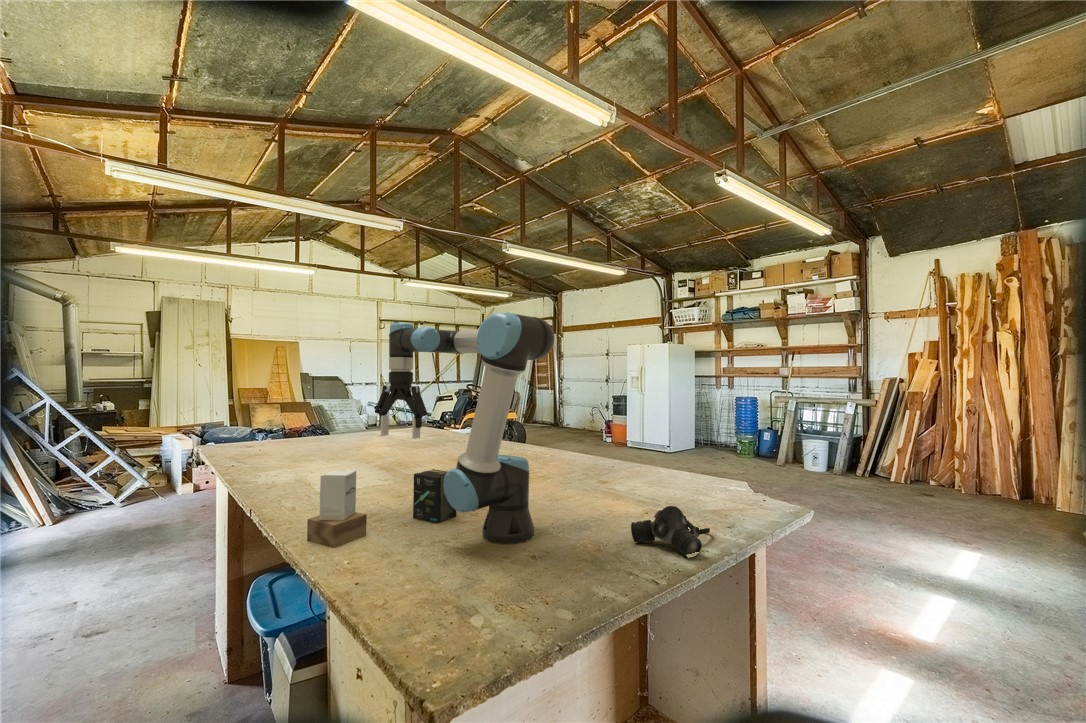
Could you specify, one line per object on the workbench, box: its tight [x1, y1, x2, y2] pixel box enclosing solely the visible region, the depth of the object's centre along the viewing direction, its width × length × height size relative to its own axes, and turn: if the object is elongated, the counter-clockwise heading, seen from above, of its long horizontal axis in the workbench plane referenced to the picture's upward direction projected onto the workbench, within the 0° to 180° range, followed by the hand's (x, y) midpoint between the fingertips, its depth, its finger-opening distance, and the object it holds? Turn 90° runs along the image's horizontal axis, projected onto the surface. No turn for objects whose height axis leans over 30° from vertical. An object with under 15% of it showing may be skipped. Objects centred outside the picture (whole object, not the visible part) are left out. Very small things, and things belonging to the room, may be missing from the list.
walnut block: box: [306, 511, 368, 548], centre depth 133 cm, size 11×11×6 cm
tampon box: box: [412, 469, 458, 524], centre depth 152 cm, size 11×9×15 cm
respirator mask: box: [630, 505, 711, 557], centre depth 132 cm, size 20×22×15 cm
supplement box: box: [319, 469, 357, 521], centre depth 133 cm, size 7×7×13 cm
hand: (400, 436), depth 149 cm, fingers open, 13 cm apart
